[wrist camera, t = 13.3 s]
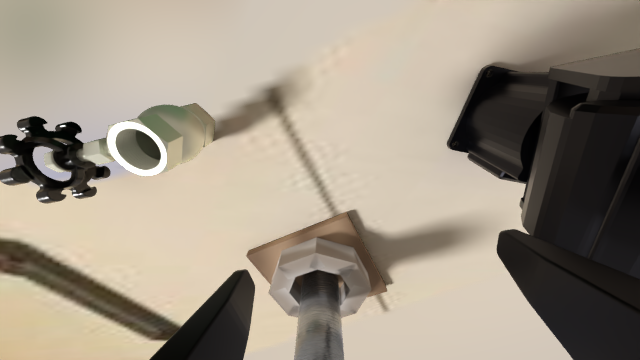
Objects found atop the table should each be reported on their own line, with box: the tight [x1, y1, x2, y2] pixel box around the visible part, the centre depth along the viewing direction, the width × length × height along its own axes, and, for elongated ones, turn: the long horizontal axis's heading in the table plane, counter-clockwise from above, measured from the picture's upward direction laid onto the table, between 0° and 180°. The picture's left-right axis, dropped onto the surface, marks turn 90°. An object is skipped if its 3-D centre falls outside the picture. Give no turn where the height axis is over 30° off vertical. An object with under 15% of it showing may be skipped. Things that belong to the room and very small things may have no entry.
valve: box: [0, 103, 215, 203], centre depth 17 cm, size 7×7×12 cm
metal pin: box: [294, 269, 344, 360], centre depth 20 cm, size 4×4×12 cm
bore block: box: [247, 212, 387, 318], centre depth 25 cm, size 12×12×3 cm
